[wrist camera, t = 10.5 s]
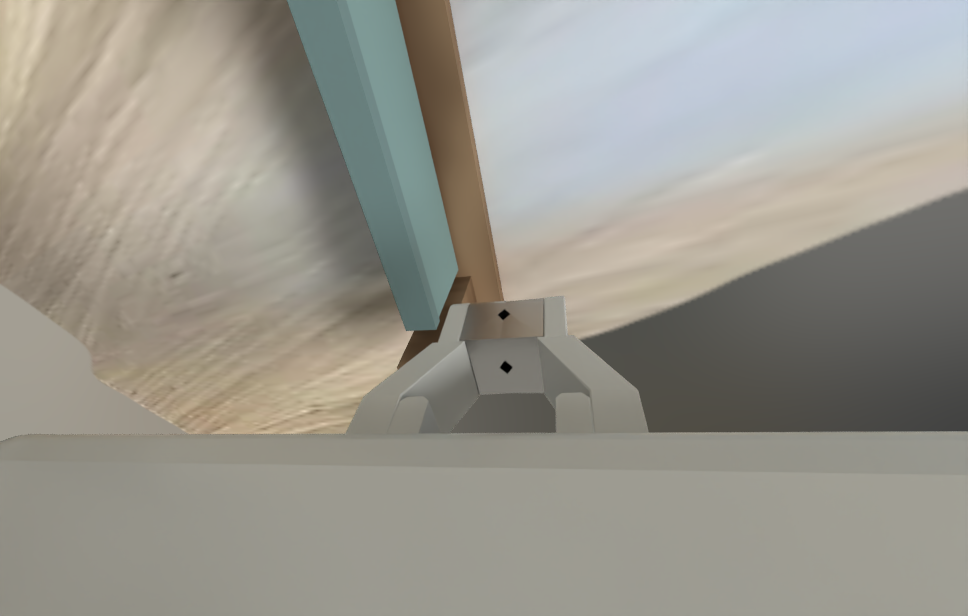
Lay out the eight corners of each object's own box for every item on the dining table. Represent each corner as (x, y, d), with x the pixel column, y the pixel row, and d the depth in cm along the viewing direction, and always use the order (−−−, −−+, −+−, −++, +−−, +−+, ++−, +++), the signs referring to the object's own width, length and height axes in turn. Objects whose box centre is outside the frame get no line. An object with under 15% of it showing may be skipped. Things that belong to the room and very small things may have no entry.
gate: (325, -124, 16) (213, -193, 11) (368, -138, 16) (273, -217, 11) (434, 271, 27) (404, 330, 22) (461, 269, 27) (438, 329, 21)
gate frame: (431, 310, 31) (380, 424, 22) (262, -222, 16) (-107, -525, 7) (504, 306, 30) (482, 426, 21) (398, -282, 14) (148, -750, 6)
